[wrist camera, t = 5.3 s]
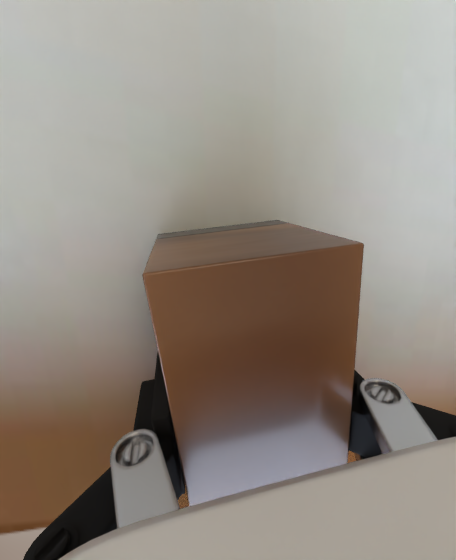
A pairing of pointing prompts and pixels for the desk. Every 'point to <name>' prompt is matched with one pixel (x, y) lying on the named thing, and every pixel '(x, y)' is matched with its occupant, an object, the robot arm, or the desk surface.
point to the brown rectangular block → (255, 350)
